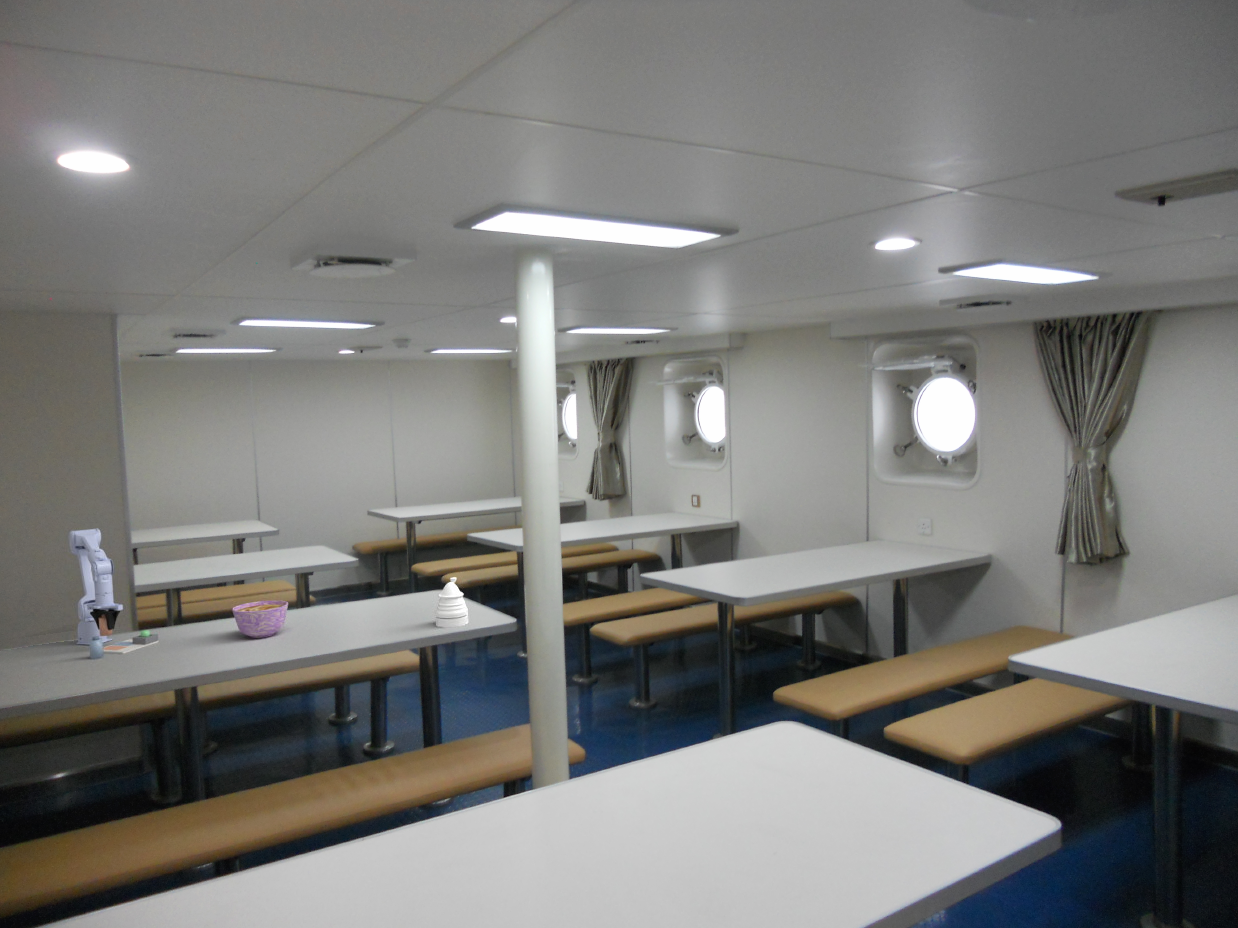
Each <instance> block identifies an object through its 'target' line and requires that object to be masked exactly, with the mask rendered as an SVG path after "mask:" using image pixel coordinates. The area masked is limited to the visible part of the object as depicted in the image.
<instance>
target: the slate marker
mask: <svg viewBox="0 0 1238 928" xmlns="http://www.w3.org/2000/svg"><path fill="white" fill-rule="evenodd" d="M88 646H89V657H90V660H98V659H103V658H104V657H105V656H104V653H103V647H104V643H103V640H102V638H99V636H95V637H92V640H89V645H88Z"/></svg>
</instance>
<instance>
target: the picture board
mask: <svg viewBox="0 0 1238 928" xmlns="http://www.w3.org/2000/svg"><path fill="white" fill-rule="evenodd" d="M131 638H132V639H130V638H129V639H126V640H122V641H119V642H116V643H112V644H109V645H106V646H103V654H104V653H105V654H128V653H129V652H133V651H135V650H138V649H142V648H145V647H148V646H151V645H154V644H157V643H159V640H160V639H159V634H158V633H157V634H156V633H150V636H148V637H141V634H140V635H136V636H134V637H131Z"/></svg>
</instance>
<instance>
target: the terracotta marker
mask: <svg viewBox="0 0 1238 928" xmlns="http://www.w3.org/2000/svg"><path fill="white" fill-rule="evenodd" d="M99 630H100V636H107V637H108V636H111V635H113V629H112V630H108V628H107V621H106V617H105V615H104V614H103V615H102V617H100V618H99Z"/></svg>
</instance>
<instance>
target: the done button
mask: <svg viewBox="0 0 1238 928" xmlns="http://www.w3.org/2000/svg"><path fill="white" fill-rule="evenodd" d="M150 631H151V630H150V629H144V630H140V635H141V637H148V636H150V634H151V632H150Z"/></svg>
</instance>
